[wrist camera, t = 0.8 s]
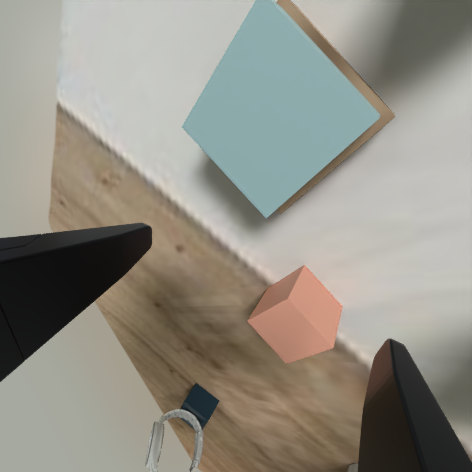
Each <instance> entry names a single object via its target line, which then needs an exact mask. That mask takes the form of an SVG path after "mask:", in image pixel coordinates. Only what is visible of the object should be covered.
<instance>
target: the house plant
mask: <svg viewBox="0 0 472 472" xmlns="http://www.w3.org/2000/svg"><path fill="white" fill-rule="evenodd" d="M347 472H358V463H354V464H351V465H350V466H349V468H348V471H347Z"/></svg>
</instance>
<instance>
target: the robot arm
mask: <svg viewBox="0 0 472 472" xmlns="http://www.w3.org/2000/svg"><path fill="white" fill-rule="evenodd" d="M151 245H152V228H151V227H150V226H149V225H147V224H144V223H134V224H126V225H117V226H108V227H99V228H90V229H81V230H73V231H64V232H55V233H46V234H42V235H41V234H37V235H28V236H18V237H7V238H0V382H1V381H2V380H3V379H4V378H6V377H7V376H8V375H9V374H10V373H11V372H13V371H14V370H15V369H16V368H17V367H18V366H19V365H21V364H22V363H23V362H24V361H25V360H26V359H27V358H28V357H30V356H31V355H32V354H33V353H34V352H36V351H37V350H38V349H39V348H40V347H41V346H43V345H44V344H45V343H46V342H47V341H48V340H49V339H51V338H52V337H53V336H54V335H55V334H57V333H58V332H59V331H60V330H61V329H62V328H64V326H66V325H67V324H68V323H69V322H71V321H72V320H73V319H74V318H75V317H76V316H78V315H79V314H80V313H81V312H82V311H83V310H85V309H86V308H87V307H88V306H89V305H90V304H92V303H93V302H94V301H95V300H96V299H97V298H99V297H100V296H101V295H102V294H103V293H104V292H105V291H107V290H108V289H109V288H110V287H111V286H112V285H114V284H115V283H116V282H117V281H118V280H119V279H121V278H122V277H123V276H124V275H125V274H126V273H127V272H128V271H129V270H130V269H131V268H132V267H133V266H134V265H135V264H136V263H137V262H138V261H139V260H140V259H141V258H142V256H143V255H144V254H145V253H146V252H147V251H148V250H149V249H150V248H151ZM358 472H472V462H471V460H470V458H469V457H468V455H467V453H466V451H465V450H464V448H463V446H462V444H461V443H460V441H459V439H458V437H457V436H456V434H455V432H454V430H453V429H452V427H451V425H450V423H449V422H448V420H447V418H446V417H445V415H444V413H443V411H442V410H441V408H440V406H439V404H438V403H437V401H436V399H435V397H434V396H433V394H432V392H431V390H430V389H429V387H428V385H427V383H426V382H425V380H424V378H423V376H422V375H421V373H420V371H419V370H418V368H417V366H416V364H415V363H414V361H413V359H412V357H411V356H410V354H409V352H408V350H407V349H406V347H405V346H404V345H403V344H402V343H400V342H397V341H395V340H393V339H387V340H386V341H385V343H384V344H383V345H382V347H381V348H380V350H379V351H378V352H377V354H376V355H375V358H374V360H373V365H372V369H371V374H370V378H369V383H368V388H367V392H366V397H365V402H364V407H363V414H362V425H361V437H360V448H359V460H358Z"/></svg>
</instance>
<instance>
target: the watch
mask: <svg viewBox="0 0 472 472" xmlns="http://www.w3.org/2000/svg"><path fill="white" fill-rule="evenodd" d="M218 402H219V400H217V399H216V398H215V397H214V396H212V395H211V394H210V393H208V392H207V391H206V390H205V389H203V388H202V387H201V386H199V385H198V384H197V383H196V384H195V386H194V387H193V389H192V390H191V392H190V393H189V395H188V396H187V398H186V399H185V401H184V402H183V405H182V407H181V409H175V410H171V411H169V412H168V413H165V414H164V415H163V416H161V418H160V420H159V422H158V423H157V422H154V425H153V428H152V431H151V436H150V440H149V445H148V451H147V456H146V468H147V467H149V471H150V472H158V471H157V470H156V469H157V463H158V461H159V457H160V453H161V448H162V442H163V436H164V424H163V422H164V421H165V420H167V419H170V418H171V417H172V418H174V417H177V416H178V417H179V418H181V419H182V420H183V421H184V422H186V423H187V424H188V425H189V426H190V427H192V428H193V429H194V430H195V431H196V435H195V450H194V456H193V460H192V465H191V467H190V472H194V471H195V469H196V467H198V465H199V463H200V459H201V455H202V449H203V430H202V429H203V428H204V426H205V425H206V423H207V422H208V420H209V419H210V417H211V415H212V413H213V411H214V410H215V408H216V406H217V404H218Z"/></svg>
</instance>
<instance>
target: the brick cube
mask: <svg viewBox="0 0 472 472" xmlns="http://www.w3.org/2000/svg"><path fill="white" fill-rule="evenodd" d="M342 307H343V306H342V305H341V304H340V303H339V302H338V301H337V300H336V299H335V298H334V297H333V295H332V294H331V293H330V292H329V291H328V290H327V289H326V288H325V287H324V286H323V285H322V283H321V282H320V281H319V280H318V279H317V278H316V277H315V276H314V275H313V274H312V273H311V271H310V270H309V269H308V268H307V267H306V266H305V265H304V266H302V267H301V268H299V269H297V270H296V271H294V272H293V273H291V274H290V275H288V276H286V277H285V278H283V279H282V280H280V281H278V282H277V283H275V284H274V285H272V286H270V287H269V288H268V289H267V290H266V292H265V293H264V295H263V296H262V298H261V300H260V301H259V303H258V304H257V306H256V308H255V309H254V311H253V312H252V314H251V316H250V317H249V319H248V320H247V321H248V323H249V324H250V325H251V326H252V327H253V328H254V329H255V330H256V331H257V332H258V333H259V335H260V336H261V337H262V338H263V339H264V340H265V341H266V342H267V343H268V344H269V345H270V347H271V348H272V349H273V350H274V351H275V352H276V353H277V354H278V355H279V356H280V357H281V359H282V360H283V361H284V362H285V363H286V364H288V363H291V362H294V361H296V360H299V359H302V358H305V357H308V356H311V355H314V354H317V353H320V352H323V351H326V350H329V349H332V348H333V347H334V343H335V338H336V334H337V329H338V325H339V320H340V316H341V312H342Z"/></svg>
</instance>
